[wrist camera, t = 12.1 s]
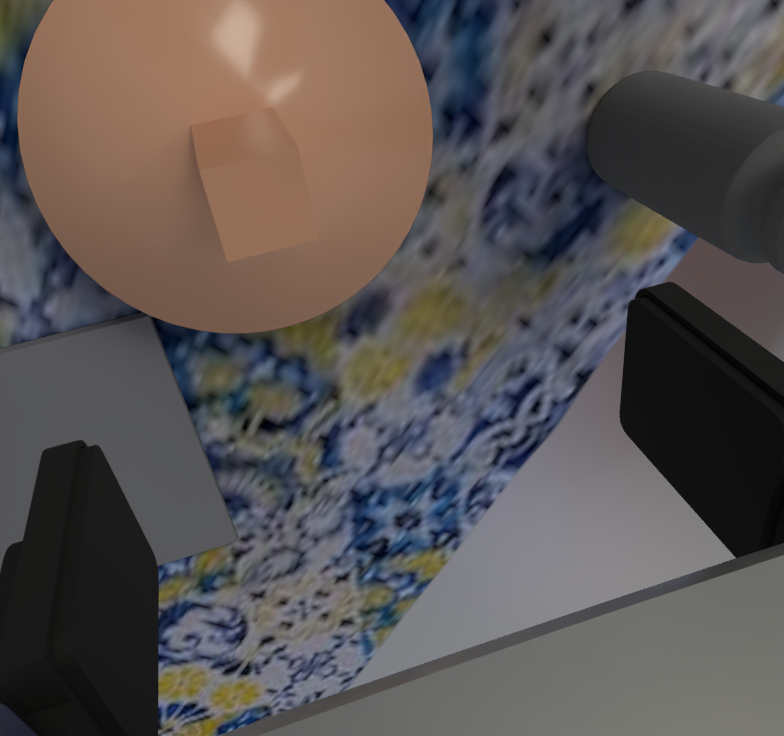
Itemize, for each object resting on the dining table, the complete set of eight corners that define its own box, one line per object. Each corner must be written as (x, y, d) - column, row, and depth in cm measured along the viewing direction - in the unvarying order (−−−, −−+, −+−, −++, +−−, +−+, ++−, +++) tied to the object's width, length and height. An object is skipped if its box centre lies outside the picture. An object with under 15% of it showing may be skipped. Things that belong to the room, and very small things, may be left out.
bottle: (706, 117, 36) (981, 214, 24) (628, 207, 38) (849, 340, 26) (645, 43, 33) (925, 112, 21) (563, 143, 35) (779, 262, 23)
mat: (-210, 401, 31) (-216, 409, 31) (149, 310, 33) (148, 316, 33) (-35, 618, 40) (-38, 626, 40) (237, 533, 43) (238, 540, 42)
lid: (-66, -35, 23) (-139, -22, 17) (397, -119, 25) (468, -132, 19) (116, 362, 32) (107, 457, 26) (443, 273, 34) (501, 342, 28)
